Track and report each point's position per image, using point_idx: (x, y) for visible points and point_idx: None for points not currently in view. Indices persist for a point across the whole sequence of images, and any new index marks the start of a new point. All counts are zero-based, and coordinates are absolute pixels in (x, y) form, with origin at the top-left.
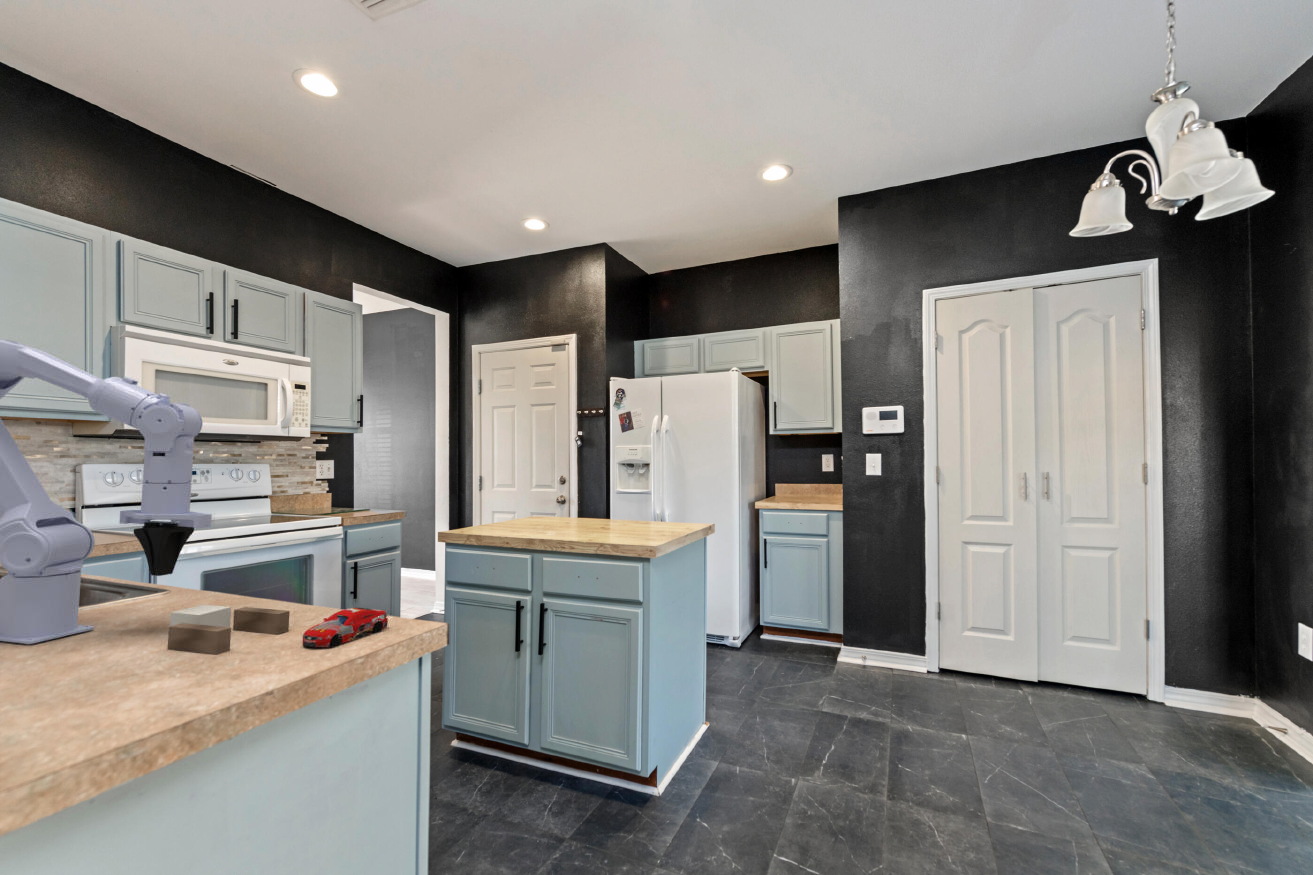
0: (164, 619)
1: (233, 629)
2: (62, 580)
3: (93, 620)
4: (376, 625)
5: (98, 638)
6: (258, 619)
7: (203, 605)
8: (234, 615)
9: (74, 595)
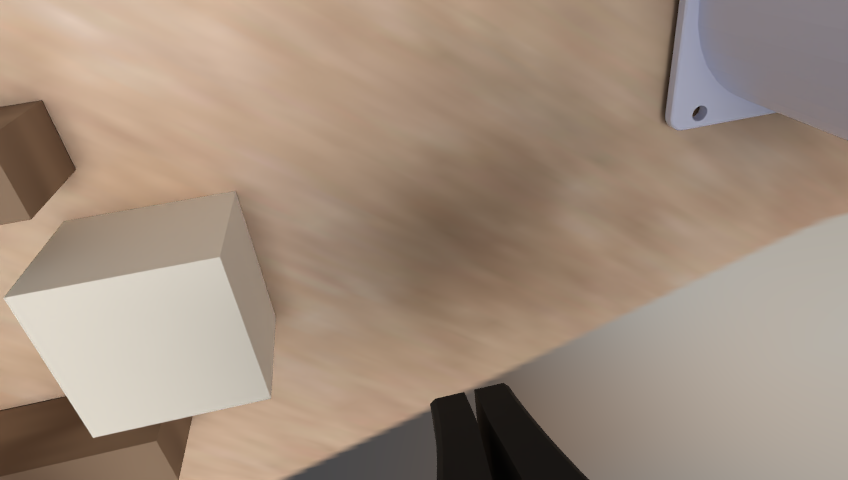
0: (566, 322)
1: None
2: None
3: (792, 200)
4: None
5: (528, 63)
6: (19, 445)
7: (250, 391)
8: None
9: (838, 94)
